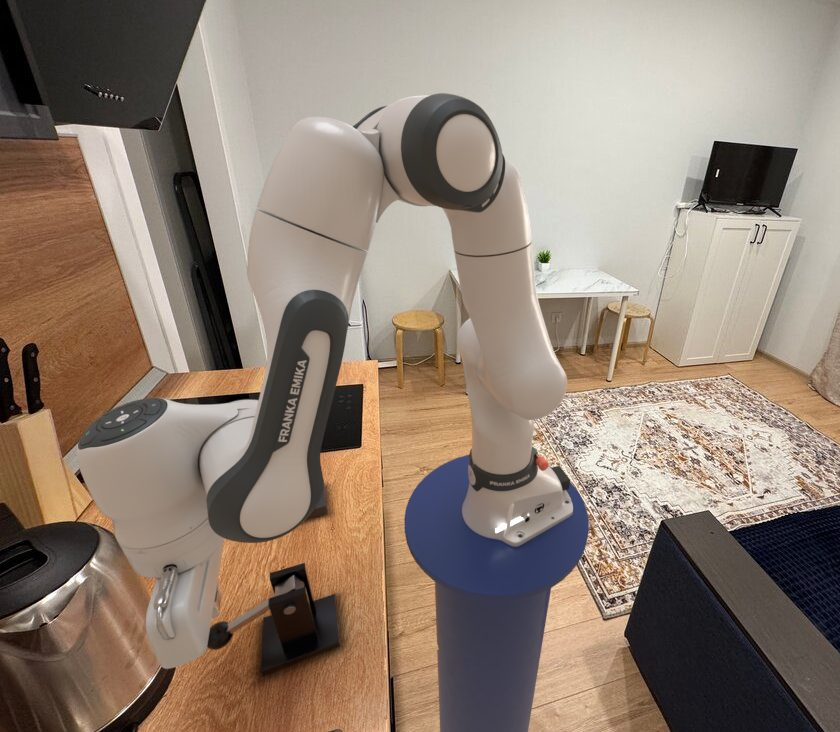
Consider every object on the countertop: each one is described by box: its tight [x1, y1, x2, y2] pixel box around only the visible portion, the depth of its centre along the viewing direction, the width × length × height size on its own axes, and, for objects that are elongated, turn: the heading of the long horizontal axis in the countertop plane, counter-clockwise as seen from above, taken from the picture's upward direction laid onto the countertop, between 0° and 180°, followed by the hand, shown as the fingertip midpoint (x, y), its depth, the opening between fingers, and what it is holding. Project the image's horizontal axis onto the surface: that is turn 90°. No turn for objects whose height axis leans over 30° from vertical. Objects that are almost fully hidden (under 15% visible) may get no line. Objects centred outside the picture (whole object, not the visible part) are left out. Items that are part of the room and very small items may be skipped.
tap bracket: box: [259, 562, 341, 677], centre depth 59 cm, size 10×8×12 cm
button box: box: [306, 478, 329, 520], centre depth 82 cm, size 10×8×4 cm
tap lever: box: [207, 575, 304, 651], centre depth 56 cm, size 13×3×3 cm, turn 114°
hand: (213, 608), depth 53 cm, fingers closed
